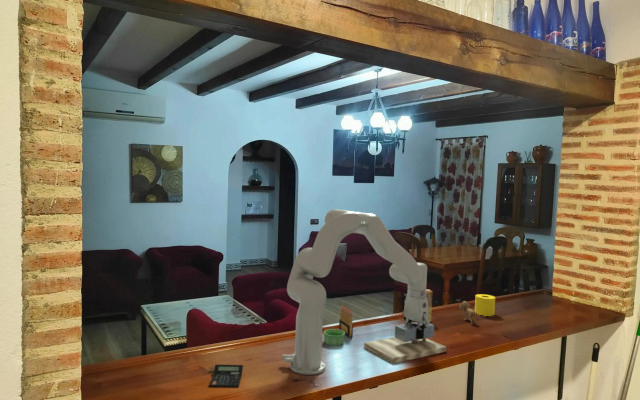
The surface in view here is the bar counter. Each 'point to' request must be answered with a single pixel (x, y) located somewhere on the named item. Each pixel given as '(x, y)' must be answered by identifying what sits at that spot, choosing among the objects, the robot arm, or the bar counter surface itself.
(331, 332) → the ramekin
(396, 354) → the board
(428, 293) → the candy box
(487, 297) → the yellow cylinder
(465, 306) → the lion figurine
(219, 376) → the calculator
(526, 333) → the bar counter surface
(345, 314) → the ammunition clip
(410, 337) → the grey rectangular block
